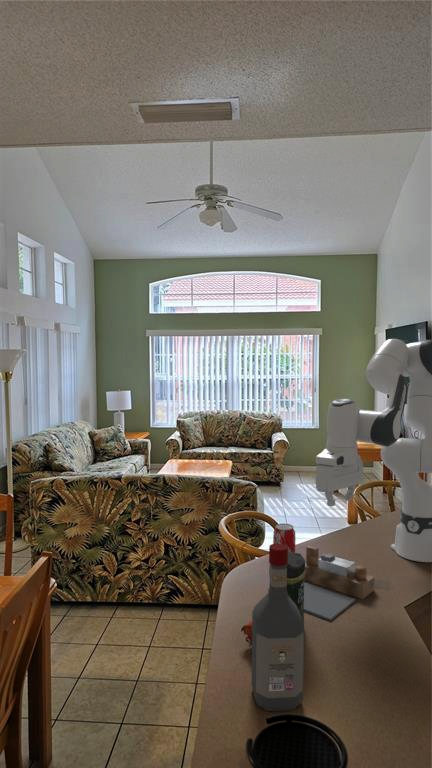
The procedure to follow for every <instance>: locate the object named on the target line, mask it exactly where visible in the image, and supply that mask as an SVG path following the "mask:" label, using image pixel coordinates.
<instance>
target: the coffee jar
mask: <svg viewBox="0 0 432 768" xmlns="http://www.w3.org/2000/svg"><path fill="white" fill-rule="evenodd" d="M305 562H306V558H305V557H304V556H303V555H302V554H301V553H297V552H295V553H294V552H290V551H288V564H287V593H288V596H289V597H290V598H291V600H292V601H293V602H294V603H295V604H296V606H297V608H298V610H299V612H300V614H301V616H302V619H303V622H304V623H305V611H304V582H305V580H304V578H305ZM268 574H269V578H270V567H269V570H268Z"/></svg>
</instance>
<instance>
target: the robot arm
mask: <svg viewBox="0 0 432 768" xmlns="http://www.w3.org/2000/svg"><path fill="white" fill-rule="evenodd" d="M365 377H366V380H367V382H368V384H369V385H370V386H371V388H373V389H374V390H375V391H377V392H380V393H383V394H386V395H387V396H388V399H387V404H386V407H385V409H382V410H371V409H370V410H368V409H361V408H359V407H358V405H357V401H356V400H354V399H352V398H336V399H334V400H332V401H331V402H330V403H329V406H328V409H327V416H326V432H327V439H326V443H325V448H324V449H323V450H322V451H321V452H320V453H318V454H317V455H316V456H315V463H316V464H317V466H316V467H315V488H316V490H317V492H321V493H324V496H325V498H326V505H327V506H328V507H335V506H336V499H334V494H335V491H339V490H342V489H346V488H347V491H346V493H345V494H344V500H345V501H349V502H350V501H353V500H354V494H355V490H356V487H357V485H360V484H363V481H364V479H365V477H364V475H365V474H364V463H363V461H362V459H361V458H362V457H361V455H360V453H359V452H358V446H359V445H358V443H365V444H366V443H367V444H374V445H378V446H381V449H380V458H381V462H382V463H383V464H384V465H385V466H386V467H387V468H388V469H389V470H390V471H391V472H392V473H393V474H394V476H395V477H396V478H397V480H398V482H399V485H400V488H401V498H402V504H401V505H402V508H401V510H400V516H399V517H400V523H399V524H397V525H396V528H395V529H396V530H395V537H394V540H395V541H394V543H391V545H390V549H392V550H393V551H394V552H395V553H396V554H397V555H398V556H400V557H402V558H403V559H407V560H410V561H413V562H414V561H415V562H420V563H432V484H430V483H428V482H426V481H424V480H423V479H422V478H421V477H420V475H419V473H425V474H432V339H423V340H422V341H415V342H414V341H413V342H410V343H405V342H404V341H403V340H401V339H398V338H389V339H387V340H385V341H384V342H382V343H381V344H380V345H379V346H378V348H376V350H375V352H374V353H373V355H372V356H371V358H370V360H369V362H368V364H367V366H366V369H365ZM406 377H407V378H409V384H408V382H407V378H406ZM405 406H406V408H405ZM405 409H406V410H405ZM404 410H405V411H406V412H405V414H406V415H405V420H406V423H407V424H408V425H409V426H410V427H412V429H414V430H416V431H418V432H420V433H422V434H423V435H424V438H412V437H411V438H408V437H400V436H401V433H402V420H403V416H404V415H403V414H404Z"/></svg>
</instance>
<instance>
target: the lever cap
mask: <svg viewBox="0 0 432 768" xmlns="http://www.w3.org/2000/svg"><path fill="white" fill-rule="evenodd" d="M318 560H319V562H318V569H319V570H322V571H325V572H328V573H332V574H335V575H338V576H341V577H345V578H348V577H349V576H350V575H352V574H353V573H355V566H356V565H355V564H356V562H355V561H350V560H347V559H344V558H341V557H337V556H336V554H334V553H329V552H324V553H323V554H320V558H318Z"/></svg>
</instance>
